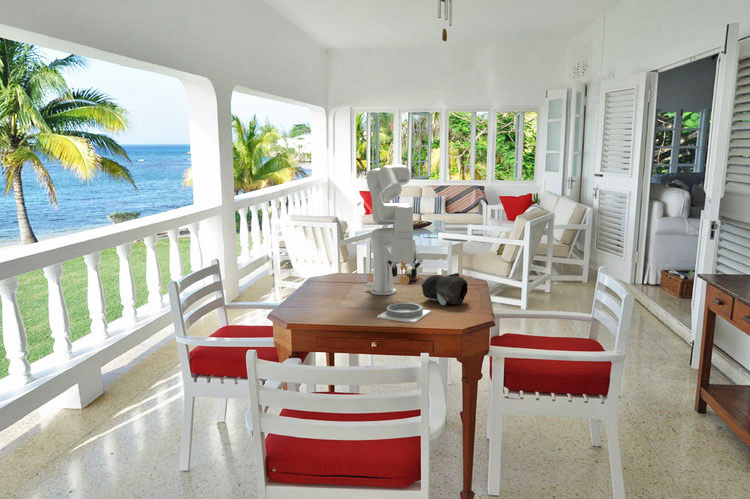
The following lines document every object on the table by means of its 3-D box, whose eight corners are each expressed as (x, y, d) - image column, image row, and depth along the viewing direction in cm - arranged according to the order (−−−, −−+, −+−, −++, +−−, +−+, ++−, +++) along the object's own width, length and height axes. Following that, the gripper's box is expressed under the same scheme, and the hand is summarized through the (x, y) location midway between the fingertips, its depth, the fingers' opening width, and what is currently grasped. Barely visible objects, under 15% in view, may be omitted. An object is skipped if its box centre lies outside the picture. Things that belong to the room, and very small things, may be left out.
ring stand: (377, 317, 237) (377, 310, 236) (395, 307, 252) (395, 300, 251) (414, 323, 229) (414, 315, 229) (431, 312, 244) (431, 304, 243)
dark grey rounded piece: (459, 319, 251) (457, 296, 244) (415, 312, 260) (411, 289, 252) (471, 291, 265) (470, 268, 258) (429, 285, 274) (426, 263, 266)
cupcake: (402, 275, 311) (414, 262, 308) (415, 289, 310) (428, 276, 306) (395, 279, 300) (407, 266, 297) (409, 293, 298) (422, 280, 295)
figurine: (414, 283, 241) (414, 255, 238) (413, 287, 235) (412, 258, 233) (395, 283, 242) (394, 255, 240) (393, 287, 236) (392, 258, 234)
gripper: (380, 235, 235) (381, 277, 238) (419, 237, 227) (419, 280, 230) (389, 233, 242) (389, 273, 245) (427, 235, 234) (427, 277, 237)
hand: (404, 276), depth 238 cm, fingers closed on figurine, 8 cm apart
